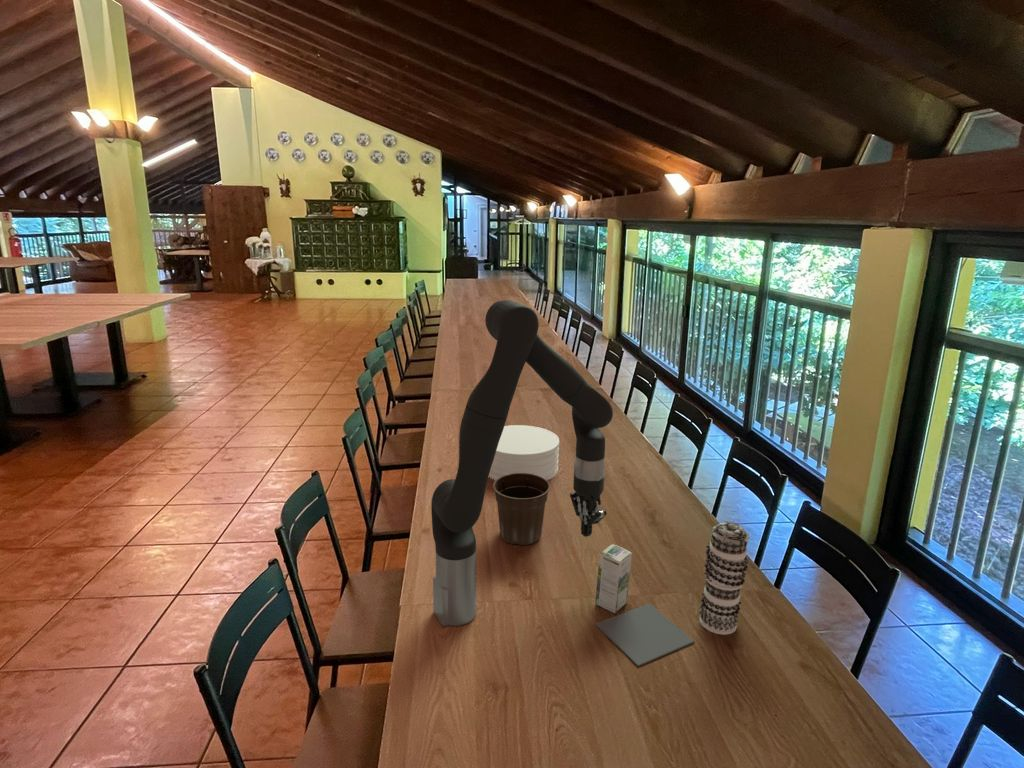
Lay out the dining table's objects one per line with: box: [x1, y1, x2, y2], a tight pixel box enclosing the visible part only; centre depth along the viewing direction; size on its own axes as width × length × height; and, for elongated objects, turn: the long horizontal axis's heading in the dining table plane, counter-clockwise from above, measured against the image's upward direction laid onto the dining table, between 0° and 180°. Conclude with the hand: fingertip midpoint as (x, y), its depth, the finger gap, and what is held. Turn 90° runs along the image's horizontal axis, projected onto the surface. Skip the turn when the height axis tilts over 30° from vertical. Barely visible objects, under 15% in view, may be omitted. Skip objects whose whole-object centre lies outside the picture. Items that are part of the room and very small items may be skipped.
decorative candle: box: [698, 521, 751, 636], centre depth 141 cm, size 9×9×25 cm
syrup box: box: [595, 543, 633, 614], centre depth 148 cm, size 6×6×14 cm
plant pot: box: [492, 473, 551, 546], centre depth 178 cm, size 16×16×16 cm
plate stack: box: [488, 424, 560, 481], centre depth 223 cm, size 28×28×12 cm
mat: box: [595, 603, 695, 668], centre depth 140 cm, size 16×15×1 cm
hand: (586, 534), depth 156 cm, fingers closed
